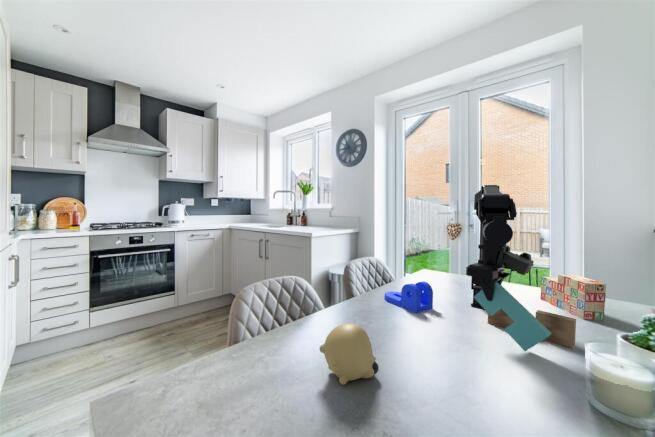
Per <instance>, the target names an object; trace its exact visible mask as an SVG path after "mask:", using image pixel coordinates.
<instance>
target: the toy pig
mask: <svg viewBox="0 0 655 437" xmlns="http://www.w3.org/2000/svg"><path fill="white" fill-rule="evenodd" d="M319 352H320V353H322V354H324V359H325V361H326V363H327V366H328V367H327V368H328V370H329V371H332V373H333V374H334V375H336V377H337V378H339V379H338V380H339V384H341V385H342V386H343V385H346V384H347V383H348V382H349V381H351V382H352V381H355V380H358V379H370V378H373V377H374V375H376V374H377V373H378V372H379V370H380V369H379V368H380V367H379V364H378V363H377V362H376V360H377V357H375V355H374V354H373V348H372V343H371V340H370V337H369V335H368V333H367V332H366V330H365V329H364V328H363V327H361V326H360V325H357V324H354V323H342V324H340V325H337V326H335V327H334V328H333V329H331V331H330V332H329V333H328V334H327V336H326V338H325V341H324V343H323V344H321V345H320V346H319Z"/></svg>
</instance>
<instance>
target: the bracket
mask: <svg viewBox="0 0 655 437" xmlns="http://www.w3.org/2000/svg"><path fill="white" fill-rule="evenodd" d="M383 297H384V298H383V299H384V301H386V302H388V303H390V304H393V305H396V306H398V307H400V308H403V309H405V310H408V311H409V312H412V313H415V314H419V313H422V312H426V311H429V310H430V311H431V310H433V307H434V300H433V299H434V290H433V288H432V286H431V285H430V284H429V283H428V282H427V281H419V282H415V283H406V284H404V285H403V286H402V287H401V292H399V291H386V292H385V293H384V295H383Z"/></svg>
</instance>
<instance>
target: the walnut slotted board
mask: <svg viewBox="0 0 655 437" xmlns="http://www.w3.org/2000/svg"><path fill="white" fill-rule="evenodd" d="M535 318H536V319H537V320H538V321H539V322H540V323H541V324H543V325H544V326H545V327H546V328H547V329H548V330H549V331H550V332H551V335H550V336H549V337H547V338H545V339H544V340H543V341H547V342H550V343H554V344H556V345H560V346H563V347H567V348H569V349H570V348H571V349H574V348H575V347H576V333H577V332H576V330H577V329H576V328H577V318H574V317H569V316H565V315H560V314H557V313H552V312H548V311H543V310H539V309H538V310H536V311H535ZM512 323H514V321H513V320H512V319H511V318H510V317H509V316H508V315H507V314H506V313H505V312H504V311H503V310H502V309H500V310H499V311H498V312H497V313H495V314H494V315H492V316H491V315H490V314H489V313H488V312H487V324H489V325H492V326H496V327H498V328H499V327H500V328H503V329H505V328H507V327H508V326H510V325H511V324H512Z"/></svg>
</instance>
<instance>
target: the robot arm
mask: <svg viewBox="0 0 655 437" xmlns="http://www.w3.org/2000/svg"><path fill="white" fill-rule="evenodd" d="M473 198H474V200H473V201H474V202H473V210H474V211H475V215H476V216H477V219H478V220H479V222H480V223H479V224H480V225H479V228H480V229H479V244H478V246H477V248H478V249H479V250H478V251H479V253H478V259H477V262H474V263H472V264H471V263H470V264H469V265H468V266H466V267H465V268H466V269H465V276H469V277H470V278H471V280H470V281H471V282H470V283H471V284H470V288H471V291H472V296H473V297H472V303H470V306H471V307H475V308H478V309H482V310H485V309H484V308H483V307H482V306H481V305H480V304H479V303H478V302H477V300H476V299H475V298H474V296H475V295H476V294H478V293H479V292H480V291H481V290H483V292H484V294H485V296H486V299H487V300H488V301H492V299H493V295H494V290H495V285H496V282H498V283H499V284H500V285H501V286H502V284H503V281H504V280H505V279H506V278H508V277H509V276H511V275H512V273H511V272H516V273H517V274H519V275H522V276H526V274H529V273H530V270H531V269H532V267H533V266H534V260H533V259H532V255H531V254H530V253H528V252H521V253H520V254H518V253H513V252H512V251H511V247H510V245H507V244H508V243H509V242H510V241H512V238H513V235H514V231H513V228H512V227H511V226H510V225H509V223H508V221H515V218H517V214H518V213H517V208H516V202H515V201H514V199H513V198H511V196H510V194H508V193H502V192H501V191H500V185H497V184H486V185H485V184H484V185H482V186H481V188H480V190H479V191H478V192H476V193H475V194H474V197H473ZM506 270H510V271H511V272H506Z"/></svg>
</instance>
